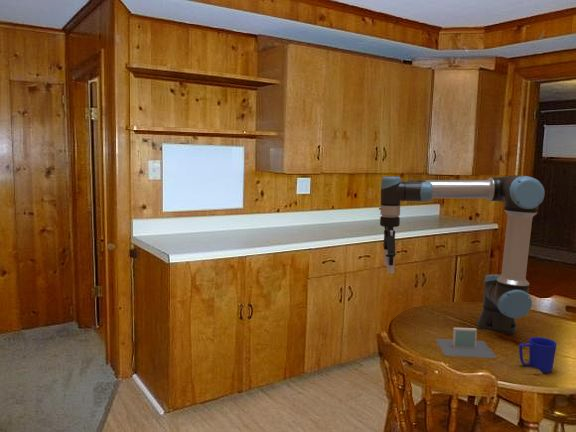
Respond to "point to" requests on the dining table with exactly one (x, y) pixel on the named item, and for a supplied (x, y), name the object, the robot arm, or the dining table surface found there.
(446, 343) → the board
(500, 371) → the dining table surface
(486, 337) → the dining table surface
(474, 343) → the tile
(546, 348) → the mug
